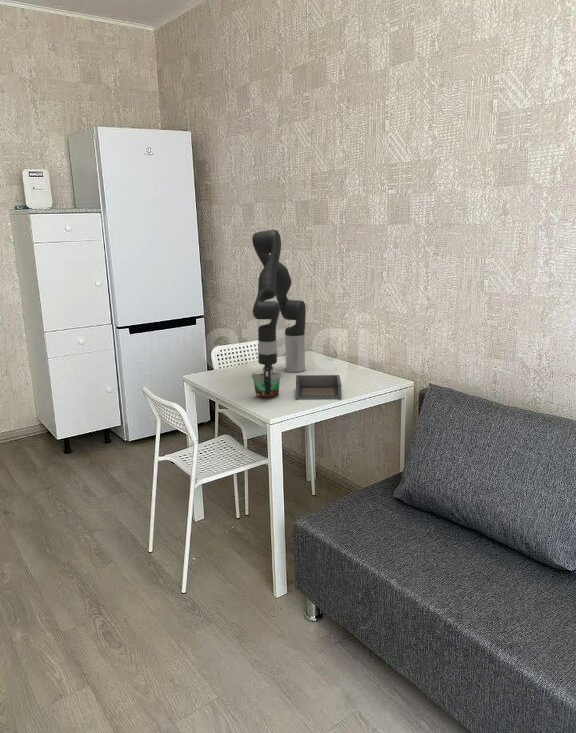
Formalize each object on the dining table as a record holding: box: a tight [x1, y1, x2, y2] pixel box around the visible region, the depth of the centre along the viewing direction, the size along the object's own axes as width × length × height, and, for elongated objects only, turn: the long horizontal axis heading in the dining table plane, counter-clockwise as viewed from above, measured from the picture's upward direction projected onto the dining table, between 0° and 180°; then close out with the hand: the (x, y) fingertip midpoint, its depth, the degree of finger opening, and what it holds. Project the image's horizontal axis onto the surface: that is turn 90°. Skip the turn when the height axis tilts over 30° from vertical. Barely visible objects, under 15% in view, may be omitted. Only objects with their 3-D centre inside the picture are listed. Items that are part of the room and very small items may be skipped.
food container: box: [251, 370, 283, 400], centre depth 241 cm, size 12×6×10 cm, turn 106°
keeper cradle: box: [295, 374, 342, 401], centre depth 245 cm, size 15×18×6 cm
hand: (268, 391), depth 243 cm, fingers closed on food container, 5 cm apart
